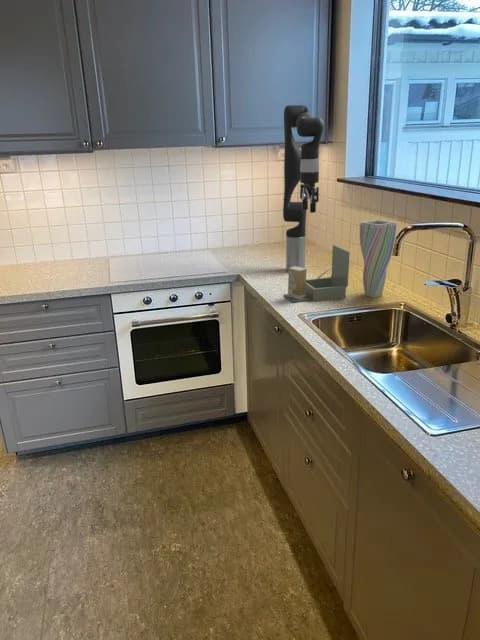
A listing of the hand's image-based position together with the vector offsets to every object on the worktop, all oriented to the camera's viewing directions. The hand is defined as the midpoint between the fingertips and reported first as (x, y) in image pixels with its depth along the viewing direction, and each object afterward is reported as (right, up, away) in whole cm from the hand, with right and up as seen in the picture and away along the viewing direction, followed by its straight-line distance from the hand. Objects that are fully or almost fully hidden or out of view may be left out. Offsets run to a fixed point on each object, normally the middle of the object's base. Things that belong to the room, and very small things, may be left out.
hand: (308, 211), depth 206 cm
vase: (+26, -35, -2) cm, 44 cm away
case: (+6, -35, +1) cm, 35 cm away
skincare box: (-5, -36, -3) cm, 37 cm away
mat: (-5, -36, -2) cm, 37 cm away
